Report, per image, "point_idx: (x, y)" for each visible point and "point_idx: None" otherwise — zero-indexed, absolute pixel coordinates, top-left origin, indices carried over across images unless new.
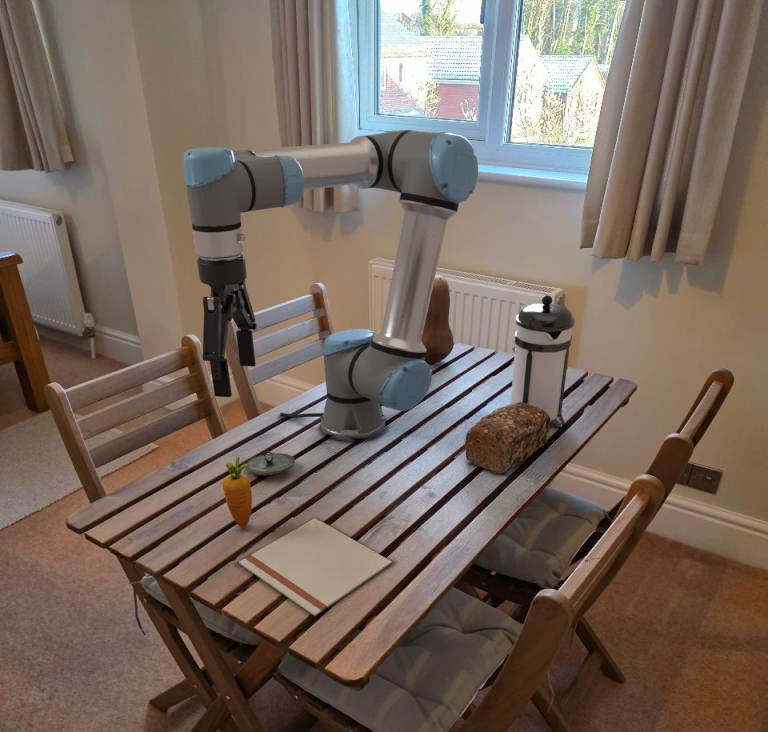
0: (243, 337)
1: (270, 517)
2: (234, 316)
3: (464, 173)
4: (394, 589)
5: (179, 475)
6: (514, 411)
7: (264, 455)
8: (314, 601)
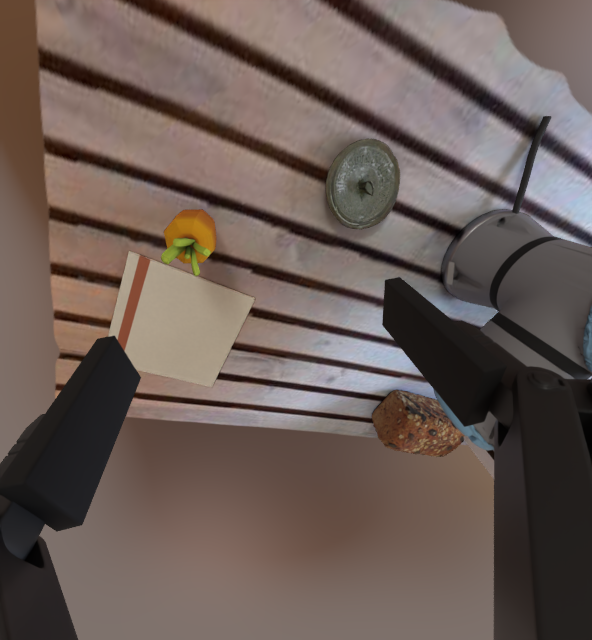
0: (452, 377)
1: (240, 243)
2: (519, 525)
3: None
4: (177, 398)
5: None
6: (440, 445)
7: (368, 181)
8: None
